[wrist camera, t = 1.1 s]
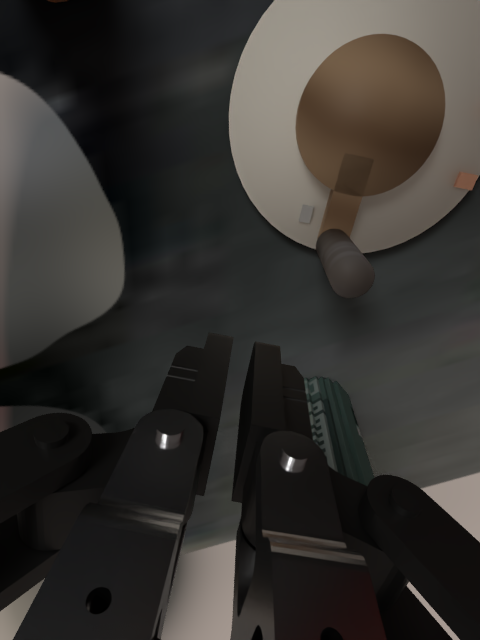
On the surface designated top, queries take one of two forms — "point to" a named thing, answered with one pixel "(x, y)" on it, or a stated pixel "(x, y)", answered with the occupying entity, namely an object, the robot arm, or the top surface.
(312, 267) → the top surface
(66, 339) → the top surface
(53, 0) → the sauce bottle
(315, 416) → the green patterned block
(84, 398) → the top surface
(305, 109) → the brown disc with handle
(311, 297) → the top surface
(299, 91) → the dial base
